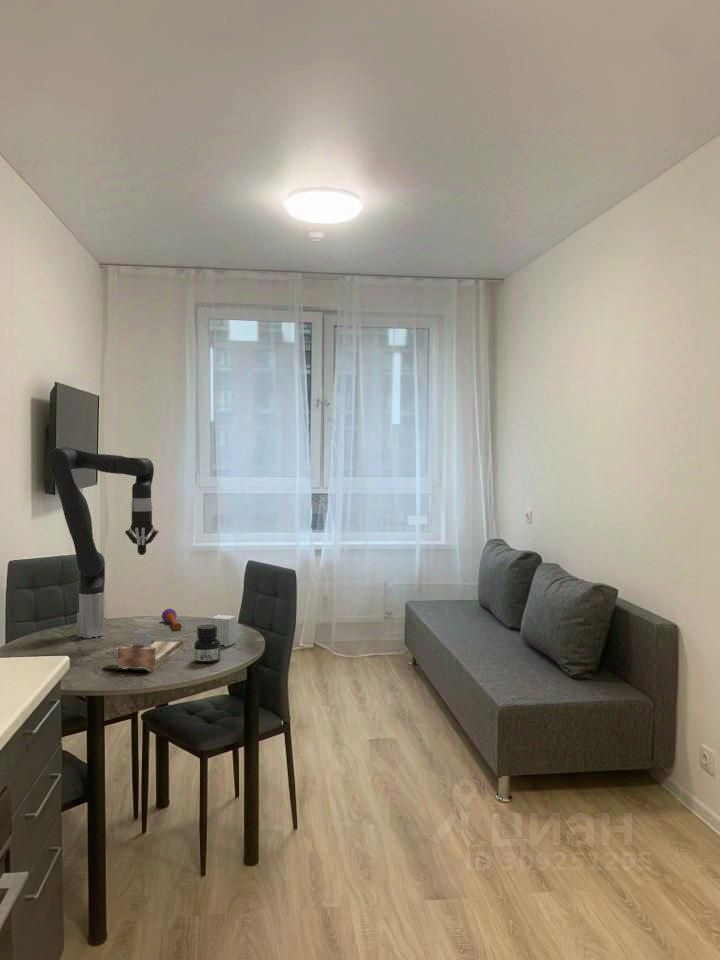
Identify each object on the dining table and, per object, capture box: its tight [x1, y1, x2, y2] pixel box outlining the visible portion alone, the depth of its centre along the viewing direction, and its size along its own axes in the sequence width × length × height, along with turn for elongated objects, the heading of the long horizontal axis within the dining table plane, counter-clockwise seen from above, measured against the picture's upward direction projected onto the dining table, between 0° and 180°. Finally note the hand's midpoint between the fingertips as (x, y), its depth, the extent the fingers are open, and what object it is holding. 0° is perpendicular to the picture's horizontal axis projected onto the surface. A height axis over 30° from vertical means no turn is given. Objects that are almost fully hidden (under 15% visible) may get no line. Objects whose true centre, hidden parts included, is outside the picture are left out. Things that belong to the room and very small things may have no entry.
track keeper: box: [132, 628, 152, 647], centre depth 242 cm, size 7×6×10 cm
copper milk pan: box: [117, 639, 185, 673], centre depth 253 cm, size 12×32×8 cm, turn 176°
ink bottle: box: [193, 623, 221, 665], centre depth 249 cm, size 10×9×12 cm
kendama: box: [161, 608, 182, 632], centre depth 301 cm, size 6×6×20 cm
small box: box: [210, 614, 237, 647], centre depth 271 cm, size 8×6×10 cm
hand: (142, 554), depth 277 cm, fingers closed
